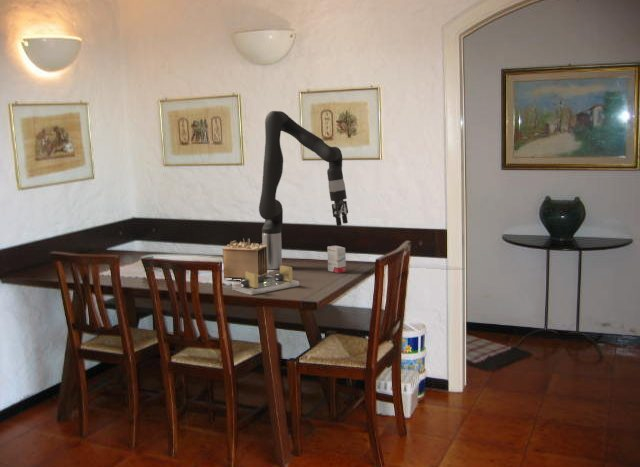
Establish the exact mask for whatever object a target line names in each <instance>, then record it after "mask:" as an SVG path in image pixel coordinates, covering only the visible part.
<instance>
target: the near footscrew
mask: <svg viewBox="0 0 640 467" xmlns="http://www.w3.org/2000/svg"><path fill="white" fill-rule="evenodd" d="M245 277H246V278H244V279H241V281H240V283H241V286H245V287H247V286H249V287H253V288H258V273H255V272H251V271H246V272H245Z"/></svg>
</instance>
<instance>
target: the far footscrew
mask: <svg viewBox="0 0 640 467" xmlns="http://www.w3.org/2000/svg"><path fill="white" fill-rule="evenodd" d="M274 277H275V280H284V281H289V282H290V281H292V280H293V267H292V266H287V265H284V264H282V266H280V268H279V272H275V273H274Z"/></svg>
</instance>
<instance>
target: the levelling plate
mask: <svg viewBox="0 0 640 467" xmlns="http://www.w3.org/2000/svg"><path fill="white" fill-rule="evenodd" d="M273 277H274V278H268V279H267V278H265V279H264V276H261V275H258V288H253V287H249V286H247V287H245V286H241V282H240V283H236V284H232V285H231V290H232V291H236V292H240V293H242V294H246V295H250V296H253V295H260V294H264V293H270V292H274V291H279V290H284V289H289V288H295V287H299V286H300V281H299V280H295V279H292V281H290V282H289V281H284V280H275V276H273Z"/></svg>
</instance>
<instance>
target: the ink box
mask: <svg viewBox="0 0 640 467" xmlns="http://www.w3.org/2000/svg"><path fill="white" fill-rule="evenodd" d="M326 248H327V251H326V252H327V270H328V272H332V273H336V274H341V273H346V272H347V260H346V247H343V246H339V245H331V246H329V245H328V246H327V247H326Z"/></svg>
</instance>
